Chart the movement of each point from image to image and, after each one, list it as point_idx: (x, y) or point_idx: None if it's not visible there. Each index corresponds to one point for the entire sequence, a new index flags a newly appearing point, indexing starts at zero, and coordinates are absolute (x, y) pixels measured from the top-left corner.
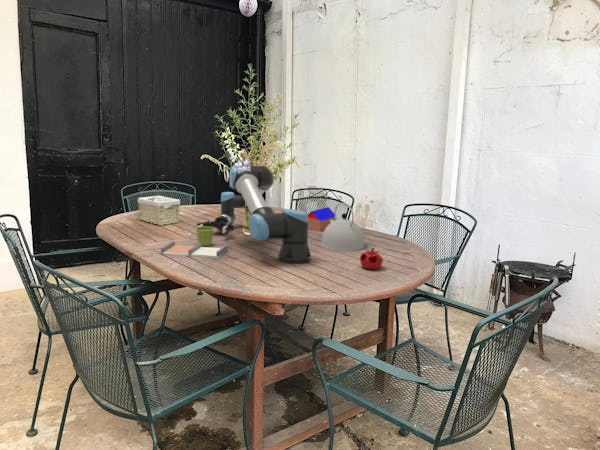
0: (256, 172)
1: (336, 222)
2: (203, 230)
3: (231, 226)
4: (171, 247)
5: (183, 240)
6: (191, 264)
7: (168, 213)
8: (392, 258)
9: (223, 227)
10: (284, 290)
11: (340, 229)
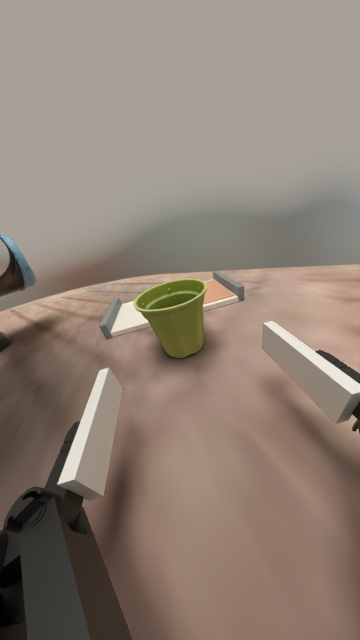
0: None
1: None
2: (194, 312)
3: (5, 533)
4: (228, 289)
5: (304, 343)
6: (150, 287)
7: None
8: None
9: (103, 382)
10: (55, 297)
11: None
